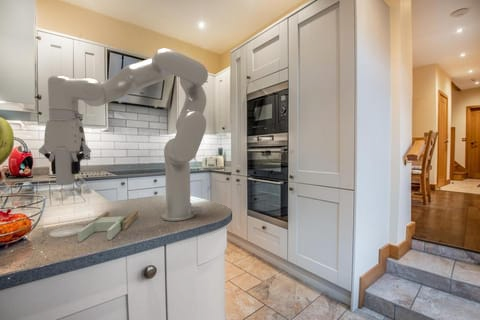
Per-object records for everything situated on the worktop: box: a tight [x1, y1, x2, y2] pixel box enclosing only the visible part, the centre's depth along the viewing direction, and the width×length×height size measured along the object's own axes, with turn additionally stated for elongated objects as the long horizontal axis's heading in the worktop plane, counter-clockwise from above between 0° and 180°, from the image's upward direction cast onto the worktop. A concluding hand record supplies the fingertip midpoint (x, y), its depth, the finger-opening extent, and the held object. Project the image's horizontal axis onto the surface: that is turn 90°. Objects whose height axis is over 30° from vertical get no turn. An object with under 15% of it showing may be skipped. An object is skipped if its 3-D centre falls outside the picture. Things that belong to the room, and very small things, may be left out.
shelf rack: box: [86, 210, 139, 231], centre depth 83 cm, size 12×15×2 cm
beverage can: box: [55, 147, 76, 186], centre depth 73 cm, size 5×5×12 cm
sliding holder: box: [77, 216, 127, 243], centre depth 74 cm, size 9×14×3 cm, turn 9°
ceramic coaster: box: [49, 224, 85, 239], centre depth 74 cm, size 9×9×1 cm
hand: (66, 173), depth 74 cm, fingers closed on beverage can, 4 cm apart
